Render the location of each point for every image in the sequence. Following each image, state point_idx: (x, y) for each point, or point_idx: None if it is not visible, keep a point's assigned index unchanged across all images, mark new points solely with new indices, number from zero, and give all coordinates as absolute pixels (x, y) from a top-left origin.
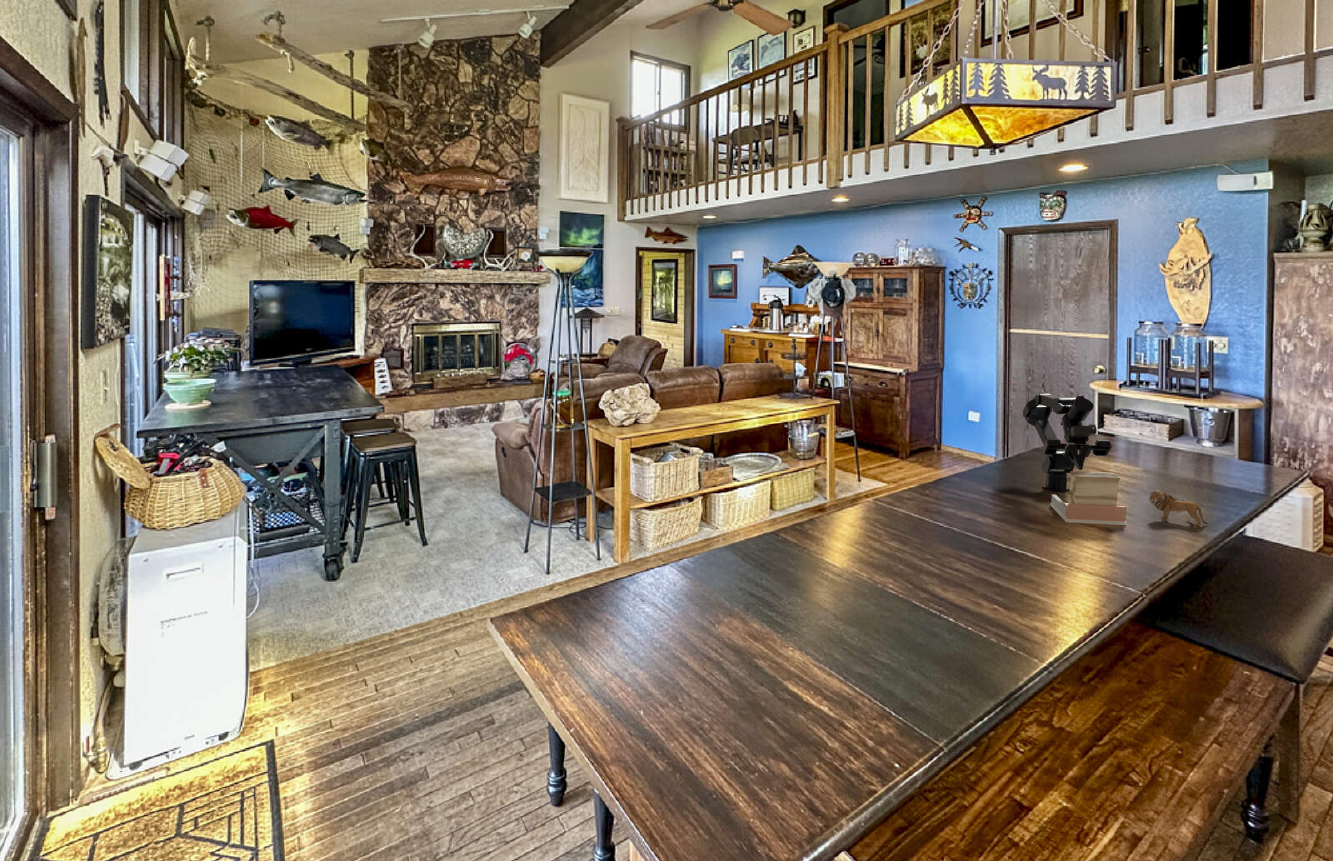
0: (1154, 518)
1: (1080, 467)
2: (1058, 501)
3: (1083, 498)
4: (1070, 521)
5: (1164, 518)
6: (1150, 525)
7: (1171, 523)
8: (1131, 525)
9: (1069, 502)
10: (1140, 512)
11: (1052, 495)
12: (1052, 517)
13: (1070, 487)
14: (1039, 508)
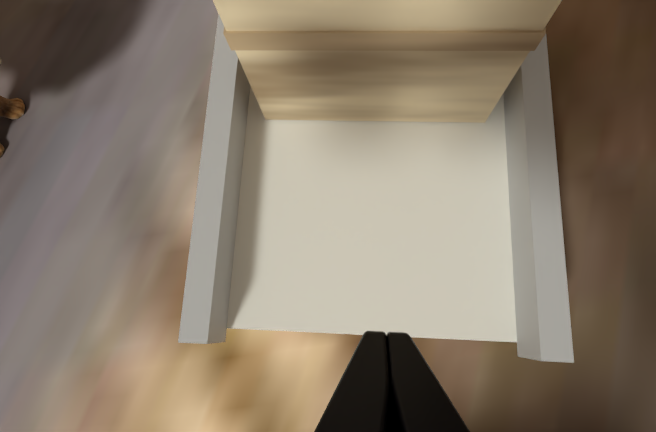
0: (42, 140)
1: (397, 339)
2: (556, 167)
3: None
4: None
5: (7, 104)
6: (126, 23)
7: (11, 69)
8: (214, 10)
9: (504, 86)
10: (51, 246)
11: (570, 343)
12: (576, 79)
13: (554, 8)
14: (628, 257)
